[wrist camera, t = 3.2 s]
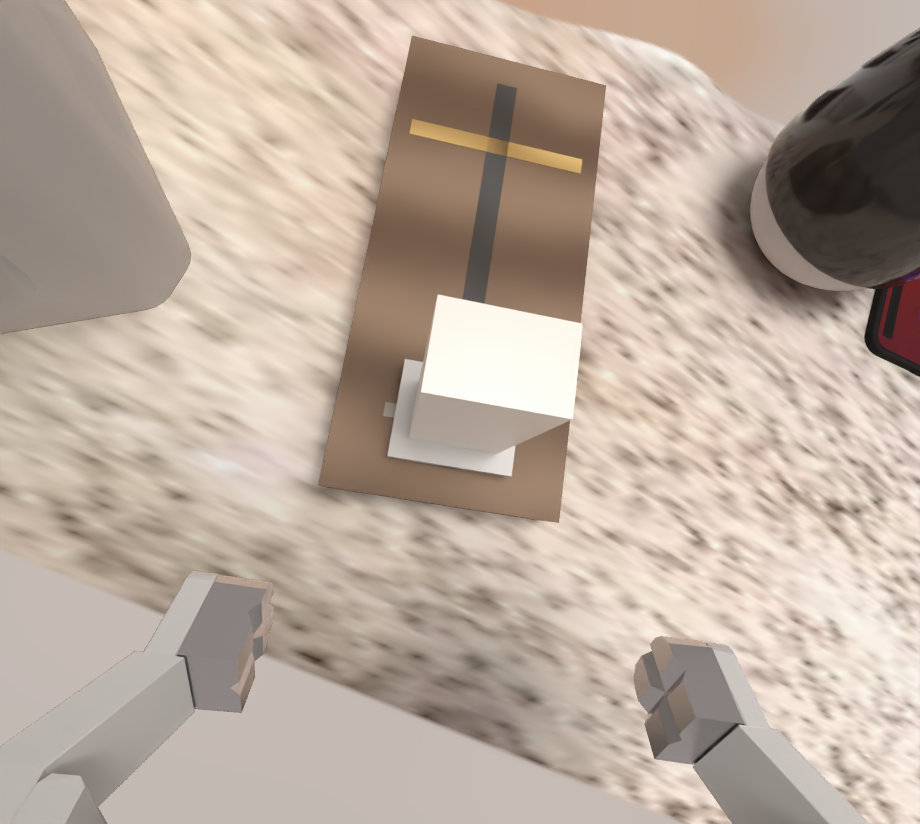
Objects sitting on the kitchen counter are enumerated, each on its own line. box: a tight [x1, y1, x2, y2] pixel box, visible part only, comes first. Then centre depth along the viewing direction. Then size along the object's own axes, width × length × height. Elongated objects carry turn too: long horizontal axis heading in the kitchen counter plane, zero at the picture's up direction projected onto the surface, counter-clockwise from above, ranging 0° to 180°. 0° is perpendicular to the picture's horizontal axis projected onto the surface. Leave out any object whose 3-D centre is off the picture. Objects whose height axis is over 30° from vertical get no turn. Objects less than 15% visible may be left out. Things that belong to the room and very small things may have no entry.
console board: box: [318, 36, 606, 523], centre depth 24 cm, size 22×10×3 cm, turn 171°
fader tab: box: [387, 295, 583, 477], centre depth 16 cm, size 4×5×9 cm
